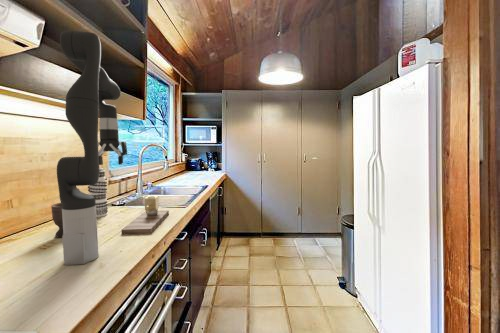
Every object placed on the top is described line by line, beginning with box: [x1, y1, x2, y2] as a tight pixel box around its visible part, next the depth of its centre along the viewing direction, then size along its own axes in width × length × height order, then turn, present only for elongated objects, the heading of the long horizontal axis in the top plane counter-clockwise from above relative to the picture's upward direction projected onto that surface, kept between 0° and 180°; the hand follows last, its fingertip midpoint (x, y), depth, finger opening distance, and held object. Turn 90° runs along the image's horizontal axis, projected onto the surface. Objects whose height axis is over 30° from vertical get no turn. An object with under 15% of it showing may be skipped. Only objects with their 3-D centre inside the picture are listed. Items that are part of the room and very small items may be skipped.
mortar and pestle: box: [50, 188, 81, 239], centre depth 111 cm, size 12×9×20 cm
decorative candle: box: [87, 167, 109, 218], centre depth 143 cm, size 9×9×25 cm
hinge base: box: [120, 197, 170, 235], centre depth 128 cm, size 32×12×11 cm, turn 4°
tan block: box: [144, 195, 160, 213], centre depth 132 cm, size 11×5×6 cm, turn 4°
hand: (110, 164), depth 123 cm, fingers open, 8 cm apart
